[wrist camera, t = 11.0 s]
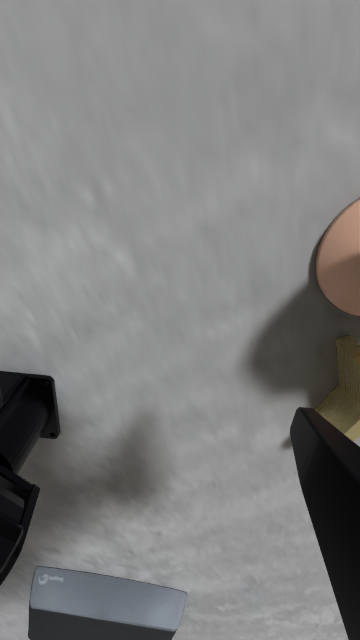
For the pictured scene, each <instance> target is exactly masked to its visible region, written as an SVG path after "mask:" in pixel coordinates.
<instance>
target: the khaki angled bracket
mask: <svg viewBox="0 0 360 640" xmlns="http://www.w3.org/2000/svg"><path fill="white" fill-rule="evenodd" d="M335 340H336V351H337V362H338V373H339V385H338V386H337V387H336V388H335V389H334V390H333V391H332V392H331V393H330V394H329V395H328V396H327V397H326V398H325V399H324V401H323V402H322V403H321V404H320V405H319V406H318V407H317V408H316V409H315V411H316V412H318V413H319V414H320V415H321V416H322V417H324V418H325V419H326V420H327V421H329V422H330V423H331V424H332V425H333V426H335V427H336V428H337V429H338V430H340V431H341V432H342V433H343V434H344V435H346V436H347V437H348V438H349V439H351V440H352V441H354V440H356V439H357V438H358V437H359V436H360V345H359V344H358V343H357V342H356V341H355V340H354V339H353V338H352V337H351V336H350V335H349V336H345V337H341V338H336V339H335Z"/></svg>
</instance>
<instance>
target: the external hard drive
mask: <svg viewBox="0 0 360 640" xmlns="http://www.w3.org/2000/svg"><path fill="white" fill-rule="evenodd" d="M186 595H187V593H186V592H183V591H179V590H175V589H171V588H166V587H162V586H157V585H153V584H148V583H143V582H138V581H133V580H128V579H121V578H117V577H111V576H105V575H99V574H92V573H86V572H79V571H72V570H64V569H56V568H47V567H36V570H35V574H34V578H33V583H32V588H31V594H30V601H29V630H28V637H29V639H30V640H171V639H172V638H173V636H174V634H175V632H176V631H177V629H178V627H179V625H180V622H181V618H182V615H183V610H184V606H185V601H186Z"/></svg>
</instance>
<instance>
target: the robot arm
mask: <svg viewBox="0 0 360 640" xmlns="http://www.w3.org/2000/svg"><path fill="white" fill-rule="evenodd" d="M45 381H46V382H48V383H46V382H45ZM59 434H60V425H59V417H58V409H57V400H56V392H55V384H54V379H53V378H52V377H50V376H46V375H36V374H25V373H15V372H5V371H0V585H1V584H2V582H3V581H4V580H5V578H6V577H7V575H8V574H9V572H10V571H11V569H12V567H13V565H14V564H15V562H16V560H17V558H18V556H19V554H20V552H21V550H22V547H23V544H24V541H25V538H26V535H27V531H28V528H29V525H30V521H31V518H32V515H33V511H34V508H35V505H36V501H37V498H38V494H39V491H40V488H39V487H38V486H36V485H35V484H33V485H32V484H31V483H29V482H28V481H26V480H25V479H23V478H22V477H20V476H19V475H17V474H18V472H19V470H20V469H21V467H22V465H23V464H24V462H25V460H26V459H27V457H28V455H29V454H30V452H31V450H32V449H33V447H34V445H35V444H36V442H37V440H38V439H39V437H40V438H51V439H56V438H57V437H58V436H59ZM290 436H291V441H292V446H293V451H294V456H295V461H296V466H297V471H298V476H299V480H300V485H301V488H302V492H303V495H304V499H305V502H306V505H307V508H308V511H309V515H310V518H311V521H312V524H313V527H314V530H315V534H316V537H317V540H318V543H319V546H320V550H321V553H322V556H323V559H324V562H325V566H326V569H327V572H328V575H329V578H330V582H331V585H332V588H333V591H334V594H335V598H336V601H337V604H338V607H339V610H340V614H341V617H342V620H343V623H344V626H345V629H346V633H347V636H348V639H349V640H360V447H359V446H358V445H357V444H355V443H354V442H353V441H352V440H351V439H349V438H348V437H347V436H346V435H344V434H343V433H342V432H341V431H340V430H338V429H337V428H336V427H335V426H333V425H332V424H331V423H330V422H329V421H327V420H326V419H325V418H324V417H322V416H321V415H320V414H319V413H318V412H316V411H315V410H314V409H312V408H304V407H299V408H298V409H297V410H296V412H295V415H294V418H293V421H292V424H291V427H290Z"/></svg>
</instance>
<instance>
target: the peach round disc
mask: <svg viewBox="0 0 360 640" xmlns="http://www.w3.org/2000/svg"><path fill="white" fill-rule="evenodd" d="M315 270H316V277H317V282H318V284H319V287H320V289H321V291H322V292H323V294H324V295H325V296H326V298H327V299H328V300H329V301H330V302H332V303H333V304H334V305H335V306H336V307H338V308H339V309H341V310H342V311H344V312H347V313H349V314H352V315H356V316H360V198H359V199H357V200H355V201H354V202H352V203H351V204H350V205H349V206H347V207H346V208H345V209H344V210H343V211H342V212H341V213H340V214H339V215H338V216H337V217H336V218H335V219H334V220H333V222H332V223H331V224H330V226H329V227H328V229H327V230H326V232H325V234H324V236H323V238H322V240H321V242H320V245H319V247H318V251H317V255H316V263H315Z"/></svg>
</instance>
